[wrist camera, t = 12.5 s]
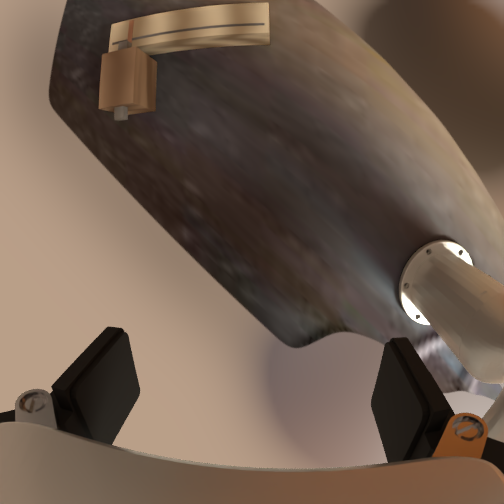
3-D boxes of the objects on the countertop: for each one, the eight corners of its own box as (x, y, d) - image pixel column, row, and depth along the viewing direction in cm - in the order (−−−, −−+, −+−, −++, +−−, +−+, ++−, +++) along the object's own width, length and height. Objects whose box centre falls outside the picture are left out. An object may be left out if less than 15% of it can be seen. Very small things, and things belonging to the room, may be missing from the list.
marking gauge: (157, 52, 35) (137, 35, 28) (155, 122, 37) (132, 115, 30) (127, 58, 35) (103, 43, 28) (124, 126, 38) (98, 121, 31)
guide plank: (269, 16, 32) (268, 2, 28) (269, 44, 33) (269, 32, 30) (124, 33, 34) (111, 24, 30) (121, 60, 35) (107, 52, 31)
